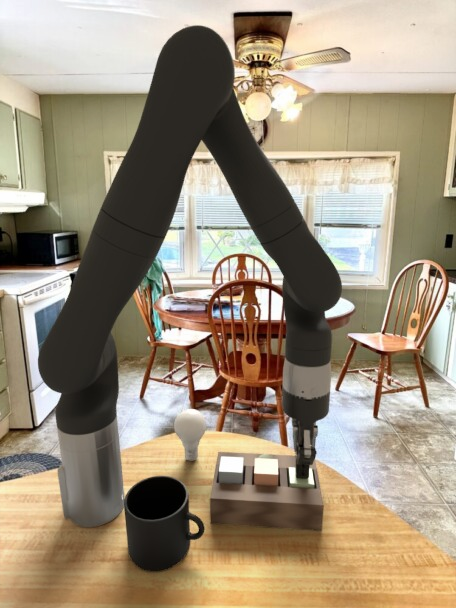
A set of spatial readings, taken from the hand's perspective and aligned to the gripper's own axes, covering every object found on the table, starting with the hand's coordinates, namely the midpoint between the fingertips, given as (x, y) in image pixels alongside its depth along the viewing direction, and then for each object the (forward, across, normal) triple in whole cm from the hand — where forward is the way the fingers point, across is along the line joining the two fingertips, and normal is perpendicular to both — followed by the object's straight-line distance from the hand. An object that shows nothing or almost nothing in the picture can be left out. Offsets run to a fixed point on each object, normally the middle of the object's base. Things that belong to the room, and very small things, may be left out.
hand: (301, 475), depth 69 cm
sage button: (+5, 0, 0) cm, 5 cm away
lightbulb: (+6, -10, -21) cm, 24 cm away
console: (+5, 0, -6) cm, 8 cm away
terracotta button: (+3, 0, -6) cm, 7 cm away
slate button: (+3, 0, -12) cm, 12 cm away
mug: (+6, +11, -21) cm, 24 cm away
